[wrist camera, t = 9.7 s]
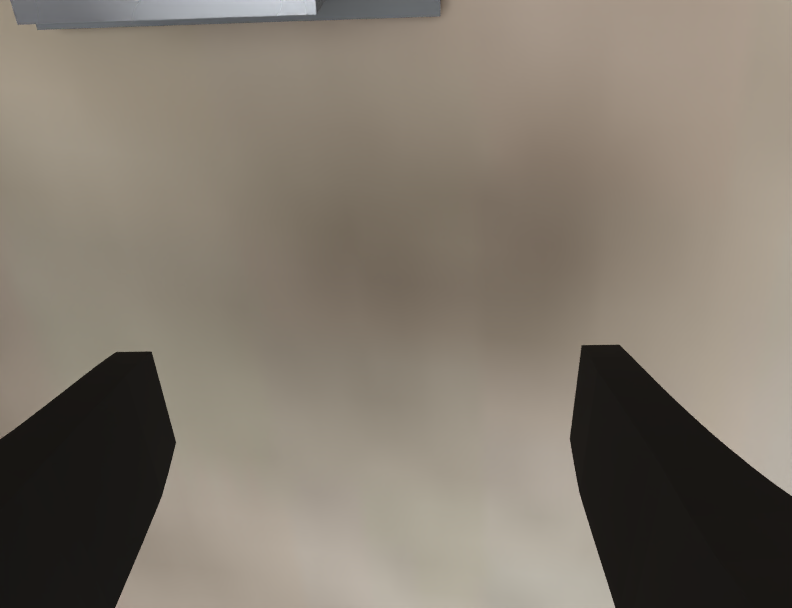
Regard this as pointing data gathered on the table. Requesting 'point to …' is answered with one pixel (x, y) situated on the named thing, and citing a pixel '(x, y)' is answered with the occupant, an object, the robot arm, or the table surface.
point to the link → (153, 9)
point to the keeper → (339, 5)
